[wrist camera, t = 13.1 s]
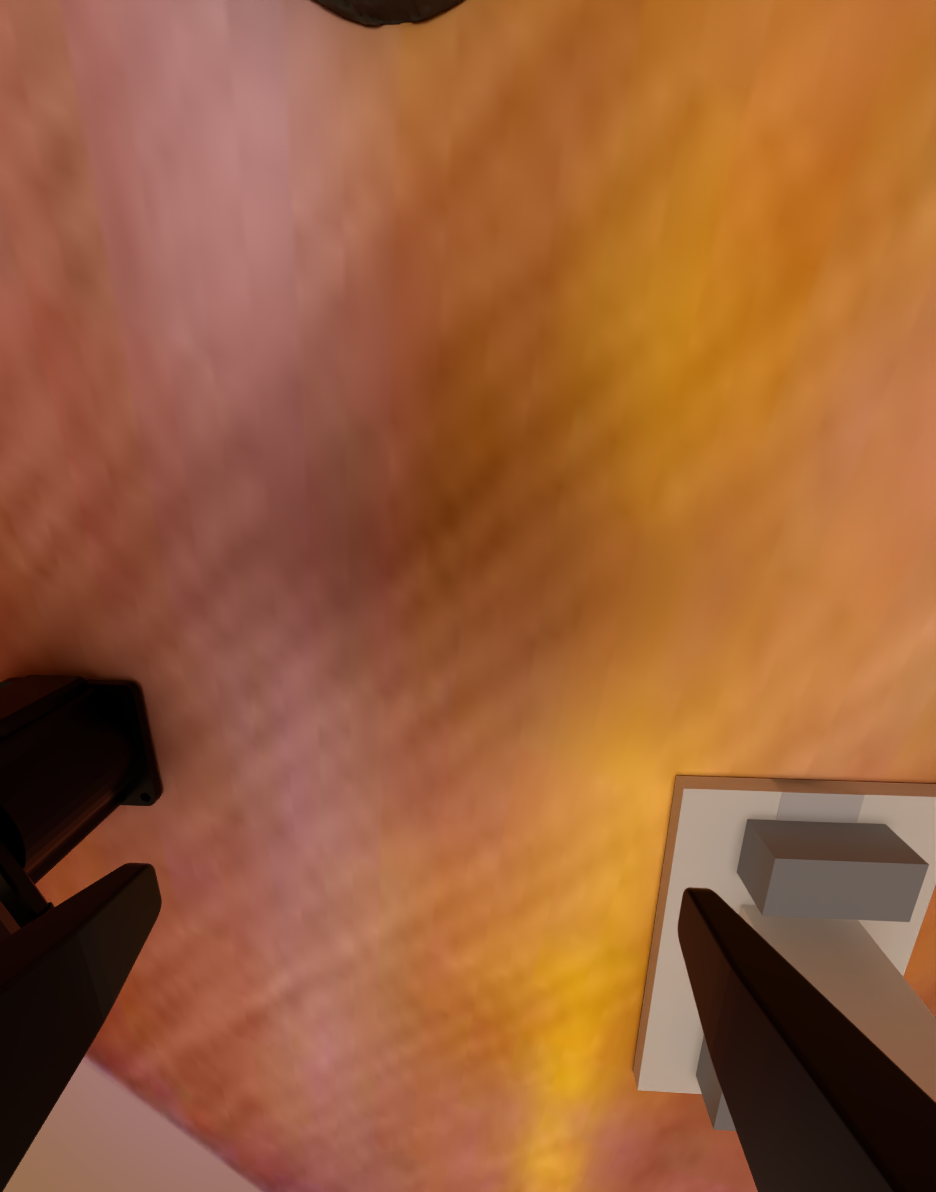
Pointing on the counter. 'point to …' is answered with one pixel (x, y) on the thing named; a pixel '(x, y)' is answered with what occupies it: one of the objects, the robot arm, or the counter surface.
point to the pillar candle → (387, 9)
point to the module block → (858, 986)
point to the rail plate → (713, 871)
